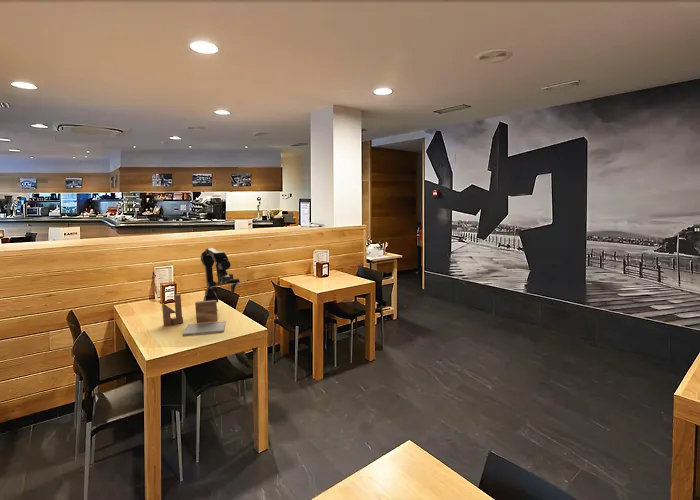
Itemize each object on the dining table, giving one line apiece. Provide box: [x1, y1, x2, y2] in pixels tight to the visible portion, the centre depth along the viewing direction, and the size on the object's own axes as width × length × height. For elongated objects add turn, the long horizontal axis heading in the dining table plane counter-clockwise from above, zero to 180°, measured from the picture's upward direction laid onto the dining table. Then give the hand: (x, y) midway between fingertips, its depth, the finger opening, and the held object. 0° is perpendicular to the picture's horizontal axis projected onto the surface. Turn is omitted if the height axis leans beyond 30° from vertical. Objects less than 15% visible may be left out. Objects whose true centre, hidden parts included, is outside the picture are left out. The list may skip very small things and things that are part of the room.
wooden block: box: [161, 293, 184, 327], centre depth 245 cm, size 4×11×18 cm, turn 127°
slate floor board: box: [182, 320, 227, 337], centre depth 236 cm, size 18×22×1 cm
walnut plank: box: [194, 300, 219, 323], centre depth 245 cm, size 3×12×14 cm, turn 104°
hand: (225, 296), depth 245 cm, fingers open, 9 cm apart
